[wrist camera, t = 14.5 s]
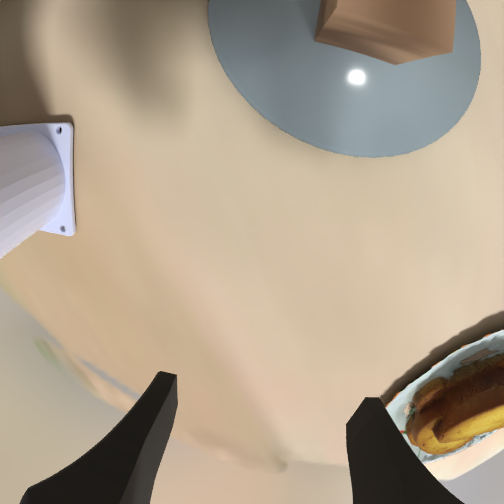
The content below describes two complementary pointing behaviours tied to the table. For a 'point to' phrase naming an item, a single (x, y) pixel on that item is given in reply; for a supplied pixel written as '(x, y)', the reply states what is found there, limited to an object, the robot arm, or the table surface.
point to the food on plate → (453, 402)
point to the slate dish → (341, 79)
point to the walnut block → (388, 27)
